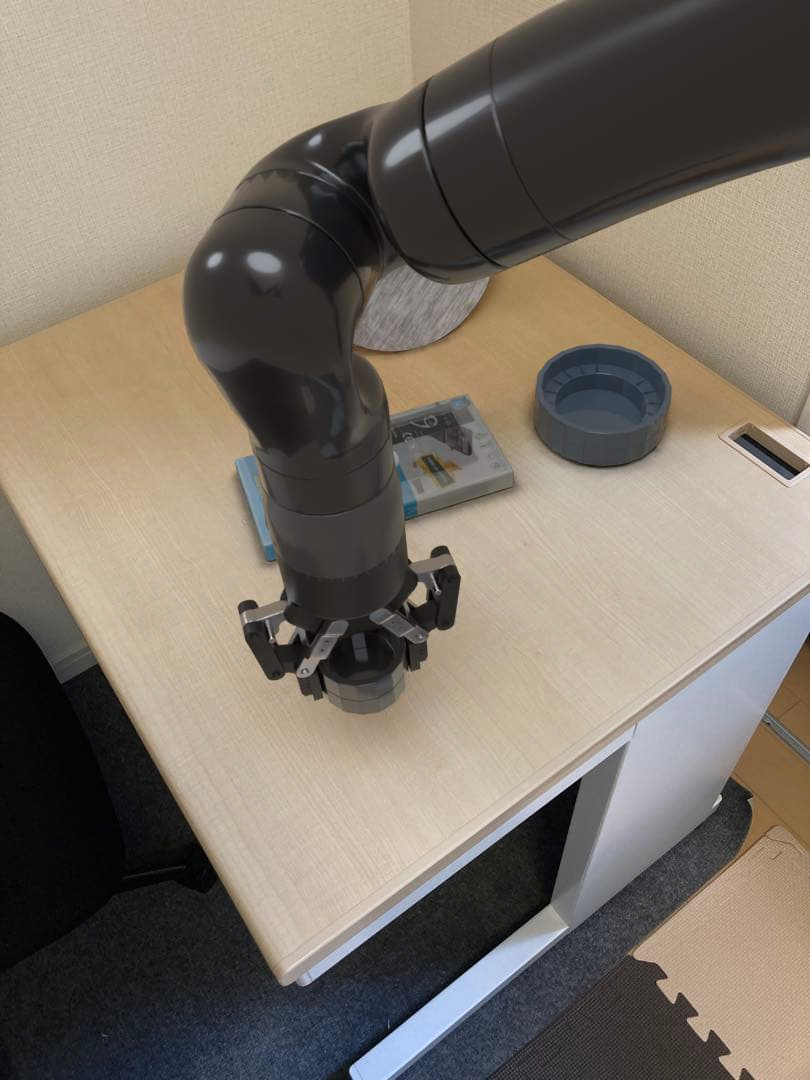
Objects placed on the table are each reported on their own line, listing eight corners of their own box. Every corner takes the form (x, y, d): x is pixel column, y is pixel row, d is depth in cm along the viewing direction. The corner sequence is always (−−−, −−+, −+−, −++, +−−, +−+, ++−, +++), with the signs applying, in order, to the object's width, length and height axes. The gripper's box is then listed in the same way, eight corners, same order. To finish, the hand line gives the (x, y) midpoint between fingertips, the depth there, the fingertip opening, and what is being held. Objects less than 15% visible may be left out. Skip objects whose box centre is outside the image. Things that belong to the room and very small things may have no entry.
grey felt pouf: (494, 310, 118) (419, 121, 113) (542, 293, 101) (457, 69, 96) (320, 389, 115) (234, 197, 109) (339, 385, 98) (238, 159, 92)
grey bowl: (665, 387, 97) (674, 350, 93) (659, 477, 89) (668, 441, 85) (541, 374, 99) (545, 337, 95) (525, 460, 91) (528, 424, 87)
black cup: (417, 649, 65) (414, 614, 62) (398, 726, 62) (393, 693, 58) (334, 635, 66) (327, 600, 63) (310, 710, 63) (301, 677, 59)
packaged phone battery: (514, 469, 87) (262, 546, 83) (513, 487, 89) (267, 563, 85) (467, 391, 94) (233, 458, 90) (467, 409, 96) (238, 475, 92)
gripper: (221, 609, 47) (275, 752, 60) (482, 535, 49) (480, 689, 62) (198, 506, 52) (253, 660, 65) (437, 443, 54) (444, 604, 67)
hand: (364, 673), depth 63 cm, fingers closed on black cup, 6 cm apart
